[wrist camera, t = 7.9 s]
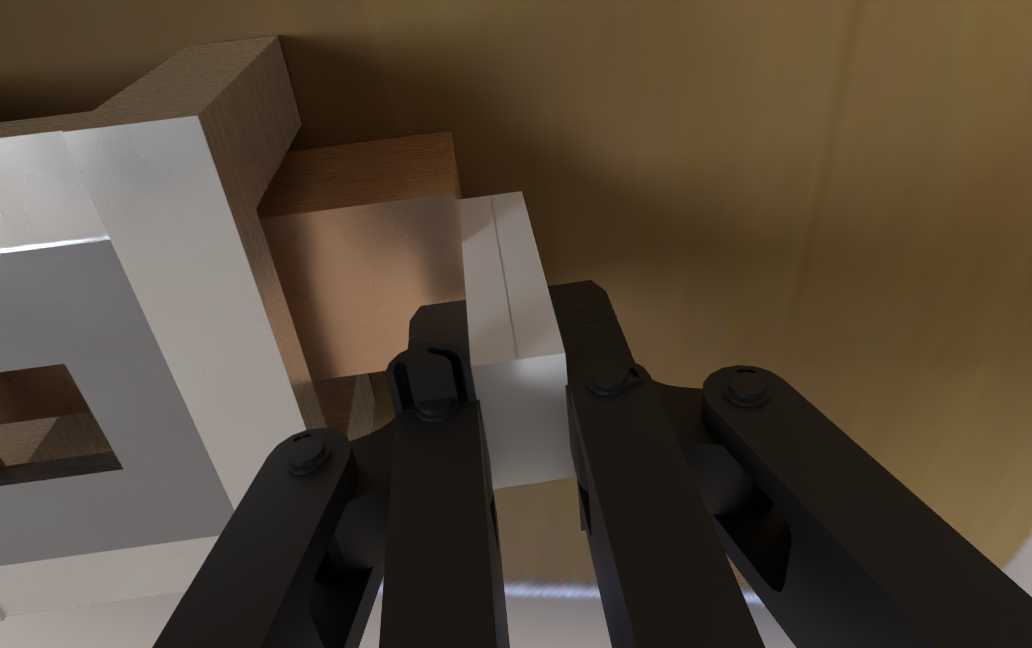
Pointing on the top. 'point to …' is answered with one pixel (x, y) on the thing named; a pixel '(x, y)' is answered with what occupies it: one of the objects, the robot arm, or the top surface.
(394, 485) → the robot arm
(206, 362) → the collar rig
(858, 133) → the top surface
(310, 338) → the banded cardboard box
